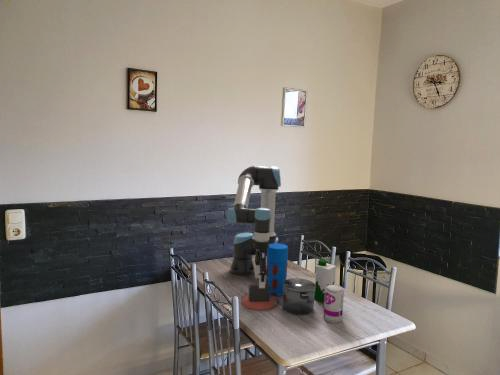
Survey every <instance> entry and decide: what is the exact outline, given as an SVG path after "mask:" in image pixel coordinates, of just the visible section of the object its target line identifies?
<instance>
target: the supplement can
mask: <svg viewBox="0 0 500 375" xmlns="http://www.w3.org/2000/svg"><path fill="white" fill-rule="evenodd" d="M344 295H345V291H344V289H343V286H341V285H338V284H334V285H328V286H327V287H326V289H325V301H324V303H323V319H325V321H327V322H329V323H333V324H336V323H340V322H341V321H343V312H344V311H343V310H344V297H345V296H344Z"/></svg>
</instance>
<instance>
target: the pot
mask: <svg viewBox="0 0 500 375" xmlns="http://www.w3.org/2000/svg"><path fill="white" fill-rule="evenodd" d="M315 288H316V285H315V282H314V281H313V280H312V281H311V280H309V279H305V278H299V277H293V278H288V279H287V278H286V280H285V281H283V295H282V304H281V305H282V307H281V308H282V310H284V312H286V313H288V314H290V315H295V316H308V315H310V314H312V313H314V310H315V299H314V296H315Z"/></svg>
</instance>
